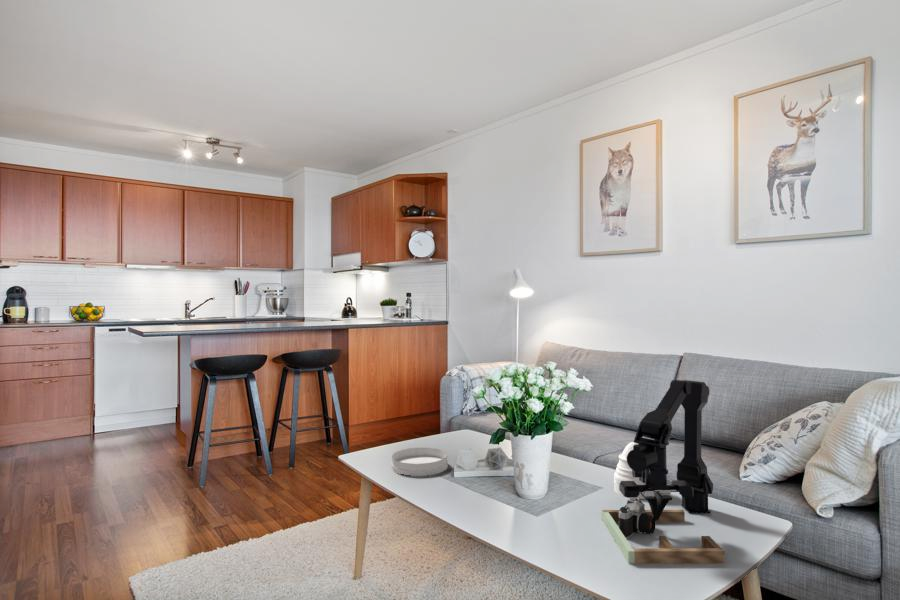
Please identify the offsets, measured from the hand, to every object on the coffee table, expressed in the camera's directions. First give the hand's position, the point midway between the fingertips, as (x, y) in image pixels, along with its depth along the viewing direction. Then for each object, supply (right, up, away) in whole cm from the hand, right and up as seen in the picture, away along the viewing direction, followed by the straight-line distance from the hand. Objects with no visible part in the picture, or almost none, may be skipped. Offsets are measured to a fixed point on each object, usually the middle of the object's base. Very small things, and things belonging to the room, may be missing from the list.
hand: (656, 519), depth 150 cm
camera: (-4, -4, +2) cm, 6 cm away
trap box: (-1, -4, -3) cm, 5 cm away
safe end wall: (-12, -4, -3) cm, 13 cm away
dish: (-69, -5, +63) cm, 94 cm away
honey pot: (+5, -4, +33) cm, 34 cm away
